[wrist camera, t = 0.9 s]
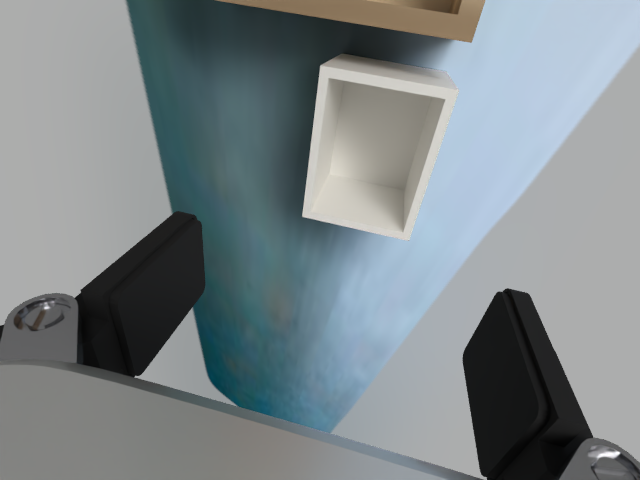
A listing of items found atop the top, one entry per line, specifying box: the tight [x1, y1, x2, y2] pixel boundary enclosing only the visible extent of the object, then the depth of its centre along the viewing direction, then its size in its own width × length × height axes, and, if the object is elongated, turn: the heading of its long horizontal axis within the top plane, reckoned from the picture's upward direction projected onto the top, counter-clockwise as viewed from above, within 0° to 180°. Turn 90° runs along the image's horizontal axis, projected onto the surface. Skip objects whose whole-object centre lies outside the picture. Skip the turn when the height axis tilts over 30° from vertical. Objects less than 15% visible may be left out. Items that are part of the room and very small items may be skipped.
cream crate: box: [302, 53, 459, 241], centre depth 23 cm, size 9×7×7 cm
